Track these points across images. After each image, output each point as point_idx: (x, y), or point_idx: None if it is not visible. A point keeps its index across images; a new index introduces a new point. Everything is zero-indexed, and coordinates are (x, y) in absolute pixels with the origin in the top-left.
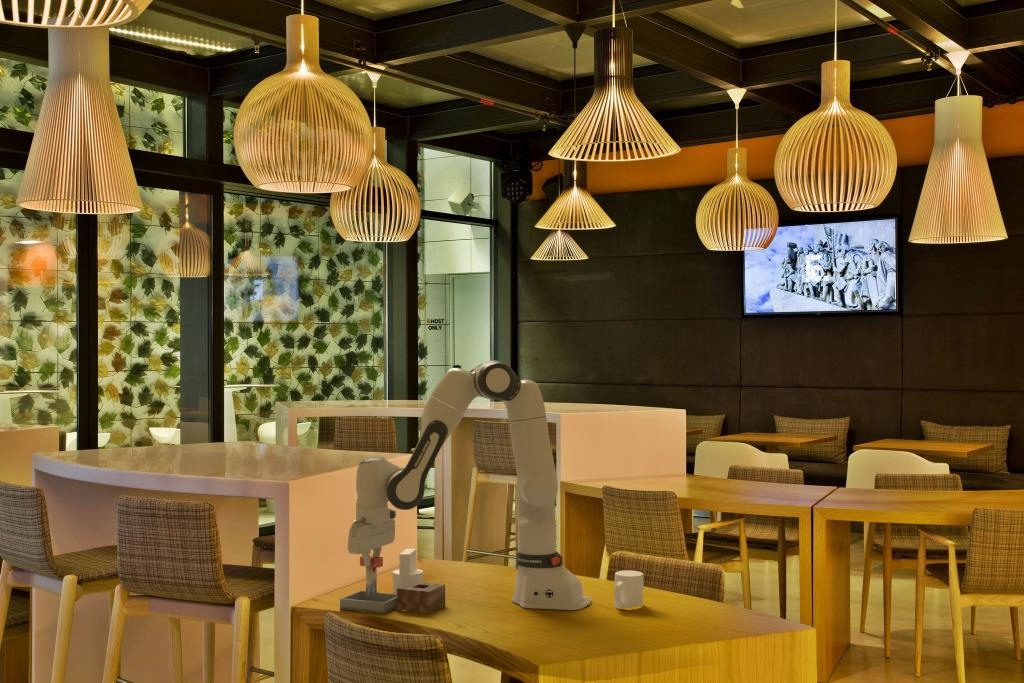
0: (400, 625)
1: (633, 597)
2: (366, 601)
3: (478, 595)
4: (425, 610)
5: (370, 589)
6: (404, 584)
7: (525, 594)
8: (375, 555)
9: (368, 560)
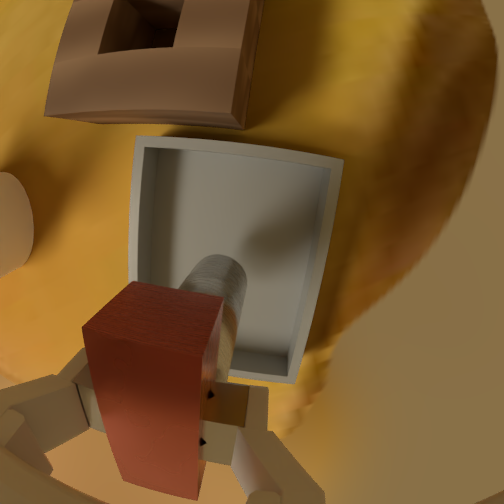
0: (452, 61)
1: None
2: (323, 262)
3: (16, 10)
4: (263, 1)
5: (243, 288)
6: (6, 219)
7: None
8: (72, 414)
9: (263, 434)
